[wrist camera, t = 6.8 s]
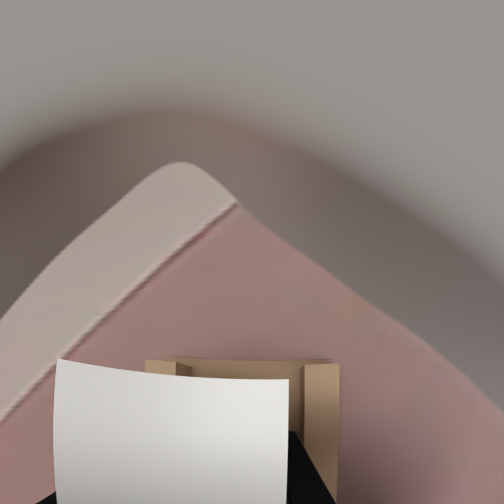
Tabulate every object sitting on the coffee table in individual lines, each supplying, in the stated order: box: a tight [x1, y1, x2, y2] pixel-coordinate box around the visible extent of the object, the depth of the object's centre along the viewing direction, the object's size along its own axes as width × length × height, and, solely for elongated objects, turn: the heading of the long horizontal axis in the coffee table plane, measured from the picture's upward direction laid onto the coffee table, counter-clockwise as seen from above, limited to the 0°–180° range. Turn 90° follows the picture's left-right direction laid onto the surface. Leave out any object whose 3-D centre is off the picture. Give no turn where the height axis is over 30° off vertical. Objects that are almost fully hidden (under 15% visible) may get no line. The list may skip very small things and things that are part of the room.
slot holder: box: [145, 357, 340, 502], centre depth 14 cm, size 9×9×4 cm
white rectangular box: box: [53, 359, 289, 504], centre depth 8 cm, size 6×4×12 cm, turn 179°
